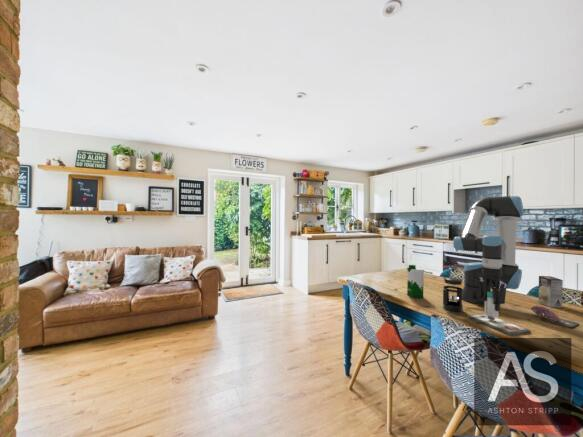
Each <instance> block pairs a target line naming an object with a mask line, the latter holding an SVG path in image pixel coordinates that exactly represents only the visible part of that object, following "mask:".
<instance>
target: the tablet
mask: <svg viewBox="0 0 583 437" xmlns="http://www.w3.org/2000/svg"><path fill="white" fill-rule="evenodd" d="M466 318H468V319H470V320H472V321H475V322H477V323H479V324H481V325H484V326H486V327H489V328H491V329H493V330H496V331H498V332H501V333H502V334H505V335H508V336H516V335H517V336H518V335H524V334H525V335H526V334H531V333H532V330H530V329H528V328H525V327H522V326H520V325H517V324H515V323H511V322H508V321H507V320H504V319H501V318H499V317H495V320H491V319H488V315H486V314H485V313H481V314H479V313H478V314H471V315H467V316H466Z"/></svg>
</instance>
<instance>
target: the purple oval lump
mask: <svg viewBox="0 0 583 437" xmlns="http://www.w3.org/2000/svg"><path fill="white" fill-rule="evenodd" d="M531 311H532V312H533V313H534V314H536V315H537V316H538V317H540V318H544V319H545V320H548V321H549V320H550V319H551V320H553V321H555V322H560V320H561V319H560V317H559V315H557V314H556V313H555V312H554V311H552V310H551V309H549V308H547V307H544V306H540V305H537V304H536V305H533V306H532V307H531Z"/></svg>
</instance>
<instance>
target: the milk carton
mask: <svg viewBox="0 0 583 437" xmlns="http://www.w3.org/2000/svg"><path fill="white" fill-rule="evenodd" d="M406 272H407V279H406V280H407V282H406V284H407V295H408V296H409V297H411V298H414V299H419V298H420V299H424V277H425V276H424V275H425V274H424V273H425V269H423V268H421V267H416V264H409V265H408V267H406Z"/></svg>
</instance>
